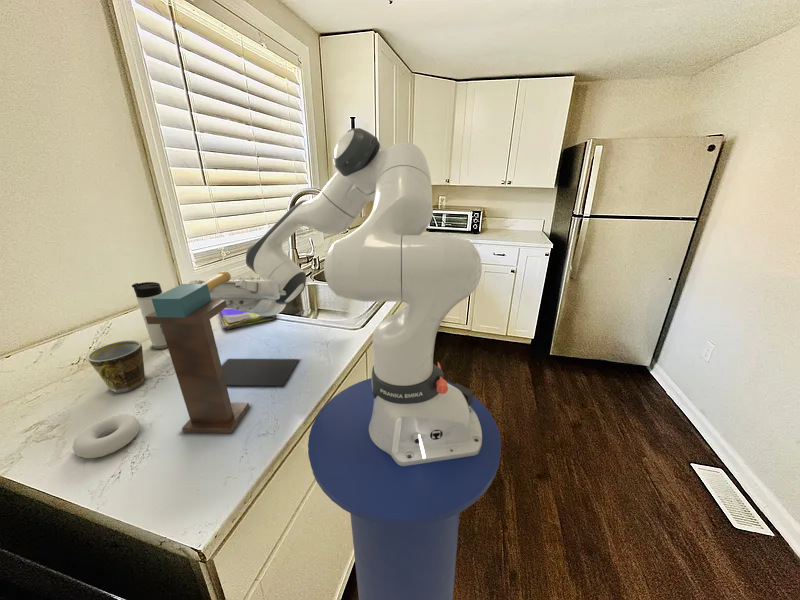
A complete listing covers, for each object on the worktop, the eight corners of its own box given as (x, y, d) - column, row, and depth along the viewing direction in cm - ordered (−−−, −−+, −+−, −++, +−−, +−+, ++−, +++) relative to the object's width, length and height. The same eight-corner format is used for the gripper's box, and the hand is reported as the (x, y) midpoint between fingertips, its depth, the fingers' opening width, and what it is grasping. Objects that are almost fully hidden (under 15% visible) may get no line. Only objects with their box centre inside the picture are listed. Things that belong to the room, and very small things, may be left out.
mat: (298, 360, 91) (298, 359, 91) (283, 386, 80) (283, 385, 80) (228, 360, 92) (228, 358, 92) (203, 386, 81) (203, 384, 81)
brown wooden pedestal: (249, 406, 73) (225, 299, 64) (231, 433, 66) (201, 316, 56) (206, 406, 74) (175, 299, 64) (183, 432, 66) (145, 316, 57)
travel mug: (157, 340, 103) (138, 280, 96) (180, 338, 104) (163, 279, 97) (147, 350, 98) (126, 287, 90) (172, 348, 99) (153, 285, 91)
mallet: (239, 282, 74) (236, 267, 73) (185, 317, 56) (179, 298, 55) (218, 282, 74) (214, 267, 73) (156, 317, 56) (151, 298, 55)
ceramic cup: (113, 378, 84) (99, 344, 81) (158, 370, 88) (147, 337, 84) (88, 409, 73) (71, 372, 69) (140, 399, 76) (127, 362, 73)
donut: (136, 450, 62) (146, 417, 70) (130, 436, 61) (141, 404, 69) (67, 471, 58) (86, 433, 66) (59, 457, 57) (80, 420, 65)
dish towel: (264, 299, 136) (263, 293, 135) (278, 320, 117) (277, 313, 116) (217, 308, 127) (216, 302, 126) (224, 332, 108) (222, 325, 107)
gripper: (288, 306, 82) (264, 298, 69) (208, 306, 83) (169, 298, 69) (289, 282, 83) (265, 268, 70) (211, 282, 84) (172, 269, 70)
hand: (216, 283), depth 69 cm, fingers open, 8 cm apart
